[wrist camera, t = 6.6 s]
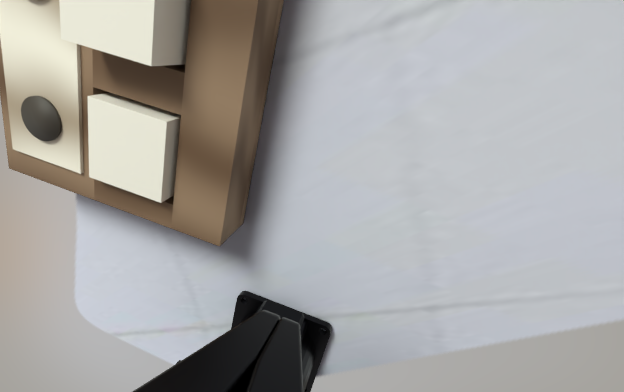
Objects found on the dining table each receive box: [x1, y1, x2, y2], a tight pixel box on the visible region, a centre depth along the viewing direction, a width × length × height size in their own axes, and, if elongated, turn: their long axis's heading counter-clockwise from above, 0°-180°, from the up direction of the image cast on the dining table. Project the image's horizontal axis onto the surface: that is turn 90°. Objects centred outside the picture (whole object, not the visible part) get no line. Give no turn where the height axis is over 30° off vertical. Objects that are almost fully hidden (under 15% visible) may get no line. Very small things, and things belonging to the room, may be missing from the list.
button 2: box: [88, 93, 181, 203], centre depth 20 cm, size 4×4×3 cm
